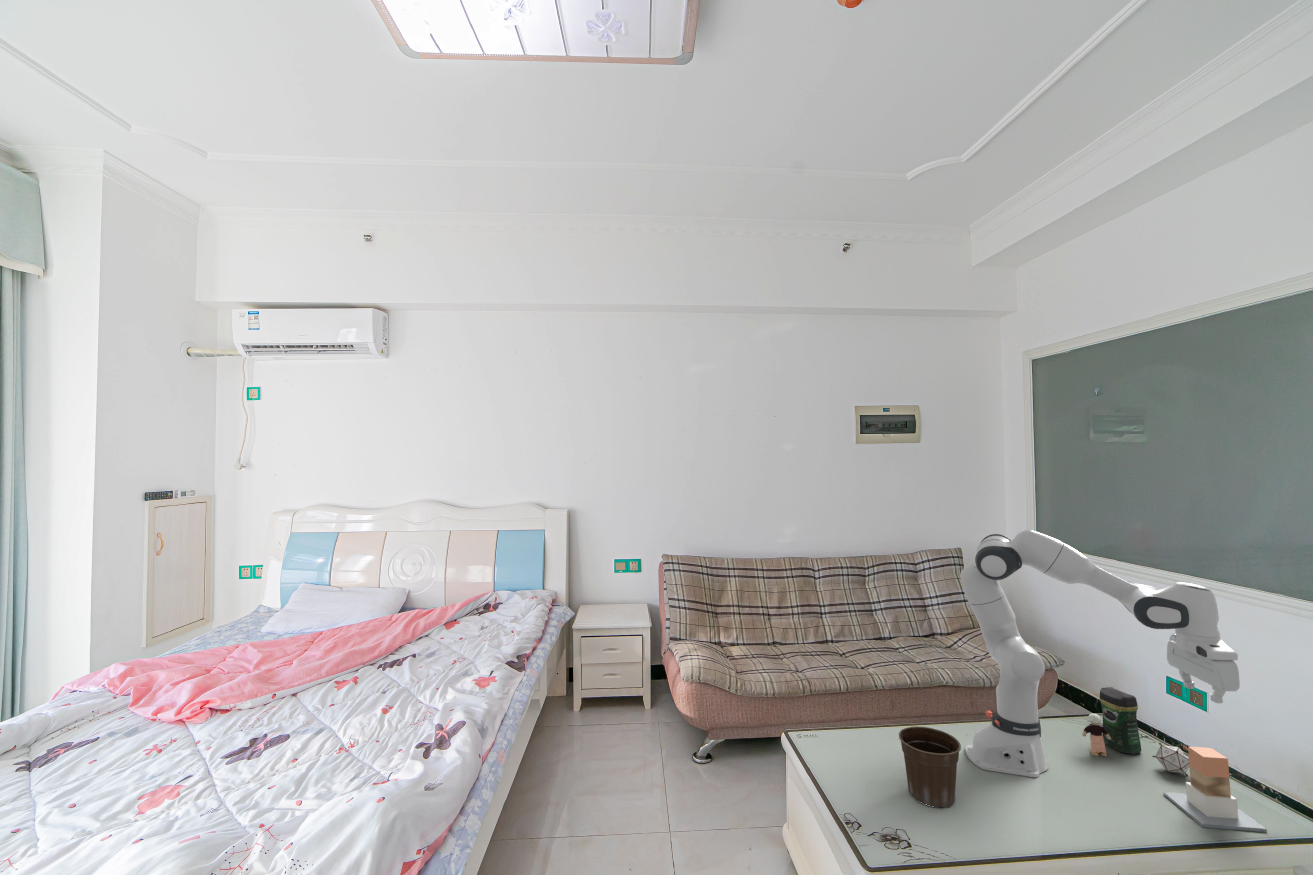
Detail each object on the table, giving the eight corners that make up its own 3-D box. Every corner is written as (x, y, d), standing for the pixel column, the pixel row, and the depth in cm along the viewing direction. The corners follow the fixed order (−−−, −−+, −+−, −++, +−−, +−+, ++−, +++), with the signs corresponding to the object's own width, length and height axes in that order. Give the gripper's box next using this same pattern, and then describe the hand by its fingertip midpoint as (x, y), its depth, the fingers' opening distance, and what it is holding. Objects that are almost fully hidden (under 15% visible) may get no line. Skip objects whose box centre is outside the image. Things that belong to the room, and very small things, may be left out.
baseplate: (1202, 826, 142) (1200, 803, 142) (1163, 794, 156) (1162, 773, 156) (1266, 831, 139) (1264, 808, 140) (1221, 798, 153) (1219, 777, 153)
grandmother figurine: (1105, 750, 180) (1102, 711, 180) (1114, 756, 176) (1110, 716, 176) (1080, 750, 180) (1077, 710, 181) (1088, 756, 177) (1085, 716, 177)
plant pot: (961, 786, 162) (958, 731, 163) (966, 819, 148) (963, 758, 149) (902, 775, 169) (899, 722, 170) (901, 805, 155) (898, 747, 155)
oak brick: (1206, 795, 146) (1205, 776, 146) (1190, 783, 151) (1189, 764, 151) (1230, 797, 145) (1229, 777, 145) (1213, 785, 150) (1212, 766, 150)
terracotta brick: (1205, 776, 146) (1203, 756, 146) (1189, 764, 151) (1187, 746, 151) (1229, 777, 145) (1227, 758, 145) (1212, 766, 150) (1211, 747, 150)
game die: (1177, 782, 167) (1190, 753, 169) (1191, 787, 160) (1205, 756, 161) (1142, 761, 172) (1155, 733, 173) (1155, 764, 164) (1169, 735, 166)
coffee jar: (1147, 753, 177) (1142, 695, 178) (1126, 756, 176) (1121, 697, 177) (1117, 739, 187) (1113, 683, 188) (1097, 741, 185) (1093, 685, 186)
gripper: (1157, 631, 161) (1161, 679, 160) (1214, 655, 141) (1219, 710, 140) (1182, 631, 159) (1186, 680, 159) (1243, 656, 139) (1248, 711, 139)
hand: (1202, 694), depth 149 cm, fingers open, 8 cm apart
